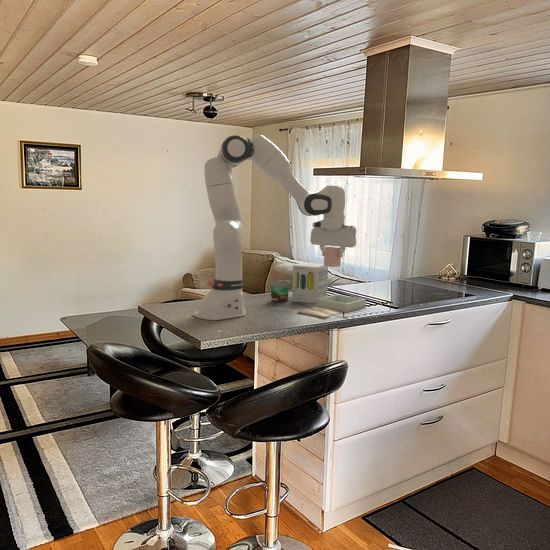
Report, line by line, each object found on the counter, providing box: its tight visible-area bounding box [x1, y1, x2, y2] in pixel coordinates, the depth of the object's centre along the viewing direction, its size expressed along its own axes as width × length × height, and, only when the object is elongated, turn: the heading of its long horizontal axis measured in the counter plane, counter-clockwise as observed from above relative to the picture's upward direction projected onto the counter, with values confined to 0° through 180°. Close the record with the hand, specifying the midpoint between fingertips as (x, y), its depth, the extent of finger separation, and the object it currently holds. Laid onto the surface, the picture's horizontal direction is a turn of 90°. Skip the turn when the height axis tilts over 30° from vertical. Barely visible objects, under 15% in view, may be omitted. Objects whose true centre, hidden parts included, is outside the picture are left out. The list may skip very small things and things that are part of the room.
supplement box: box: [291, 261, 329, 305], centre depth 238 cm, size 13×13×18 cm
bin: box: [316, 293, 367, 313], centre depth 225 cm, size 15×15×4 cm
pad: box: [297, 305, 345, 320], centre depth 214 cm, size 14×14×1 cm
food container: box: [269, 277, 292, 303], centre depth 237 cm, size 12×6×10 cm, turn 143°
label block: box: [323, 246, 342, 268], centre depth 216 cm, size 5×5×8 cm
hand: (332, 256), depth 216 cm, fingers closed on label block, 6 cm apart
